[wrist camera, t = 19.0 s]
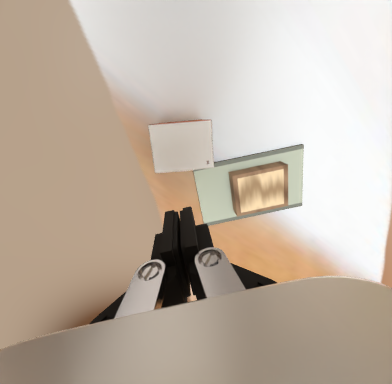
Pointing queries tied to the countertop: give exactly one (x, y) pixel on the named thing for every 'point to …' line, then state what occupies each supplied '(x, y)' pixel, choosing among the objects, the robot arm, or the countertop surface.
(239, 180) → the slab
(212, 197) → the mat
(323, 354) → the robot arm
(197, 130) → the small box
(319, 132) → the countertop surface
